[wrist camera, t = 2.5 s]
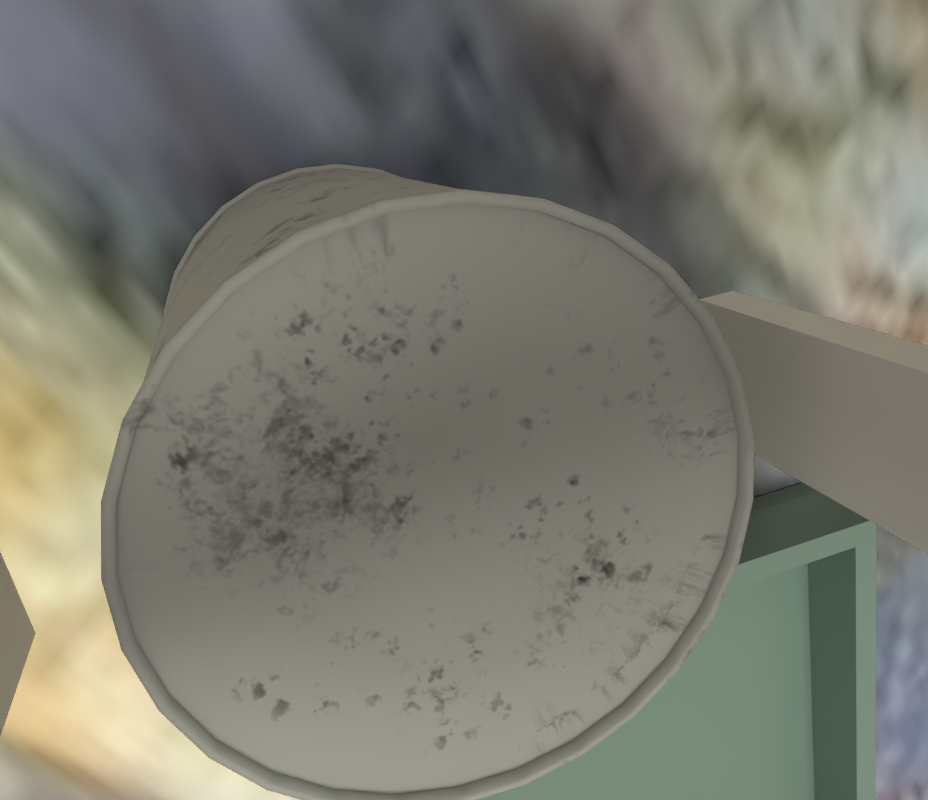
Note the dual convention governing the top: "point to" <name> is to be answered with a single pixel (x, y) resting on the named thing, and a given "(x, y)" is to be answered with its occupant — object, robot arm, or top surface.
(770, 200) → the top surface
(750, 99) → the top surface
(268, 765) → the speckled white canister
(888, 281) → the top surface
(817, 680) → the tray
